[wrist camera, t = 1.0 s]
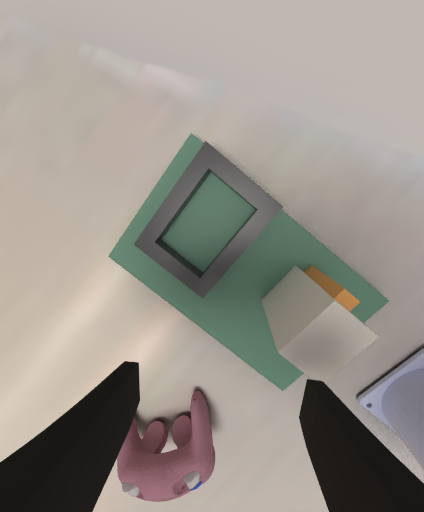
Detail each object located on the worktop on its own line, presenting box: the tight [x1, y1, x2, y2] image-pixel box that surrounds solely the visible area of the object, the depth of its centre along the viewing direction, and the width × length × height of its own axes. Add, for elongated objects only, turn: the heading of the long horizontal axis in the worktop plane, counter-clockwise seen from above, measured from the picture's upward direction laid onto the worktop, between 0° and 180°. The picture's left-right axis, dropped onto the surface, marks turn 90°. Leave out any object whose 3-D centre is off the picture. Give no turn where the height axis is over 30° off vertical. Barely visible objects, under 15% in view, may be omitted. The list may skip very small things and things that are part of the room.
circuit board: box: [109, 133, 389, 391], centre depth 17 cm, size 20×12×1 cm, turn 52°
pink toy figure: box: [117, 391, 215, 502], centre depth 20 cm, size 10×5×7 cm, turn 111°
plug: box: [262, 265, 379, 382], centre depth 14 cm, size 3×5×6 cm, turn 142°
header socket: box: [134, 141, 283, 299], centre depth 16 cm, size 7×9×2 cm
